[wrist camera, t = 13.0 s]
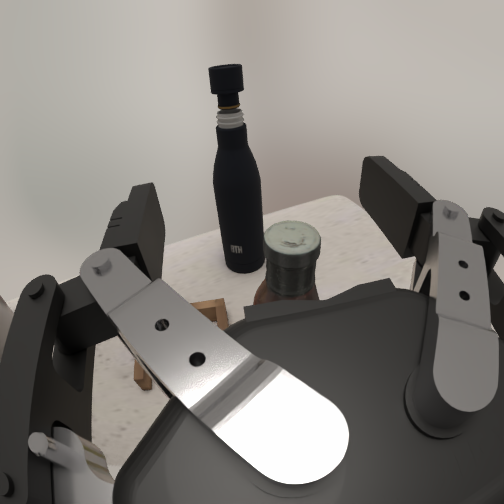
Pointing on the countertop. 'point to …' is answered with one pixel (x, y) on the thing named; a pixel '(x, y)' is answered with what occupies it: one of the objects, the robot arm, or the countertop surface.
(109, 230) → the robot arm
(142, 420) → the countertop surface
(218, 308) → the walnut cradle
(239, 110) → the black water bottle
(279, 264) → the sauce bottle
